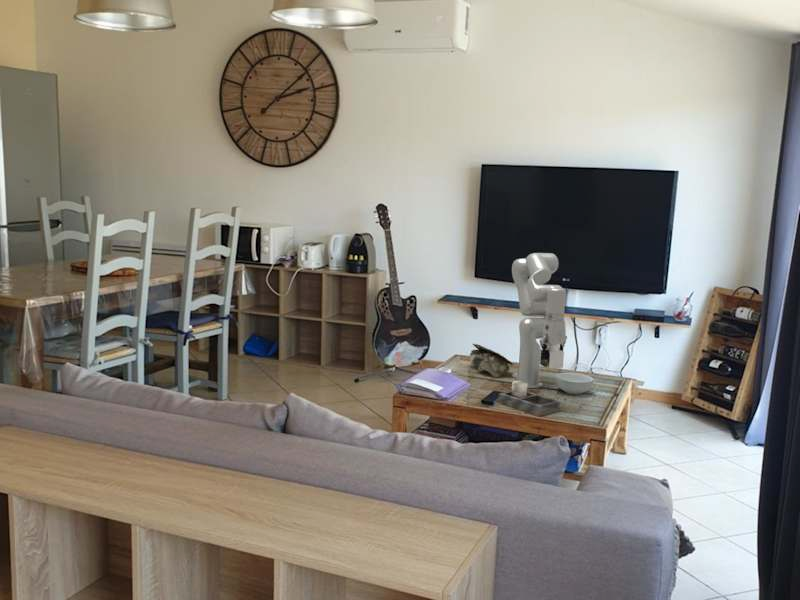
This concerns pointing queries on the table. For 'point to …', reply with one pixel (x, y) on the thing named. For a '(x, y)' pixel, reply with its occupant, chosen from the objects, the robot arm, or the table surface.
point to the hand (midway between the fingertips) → (552, 357)
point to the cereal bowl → (573, 382)
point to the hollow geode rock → (489, 361)
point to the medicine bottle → (553, 357)
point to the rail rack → (528, 400)
